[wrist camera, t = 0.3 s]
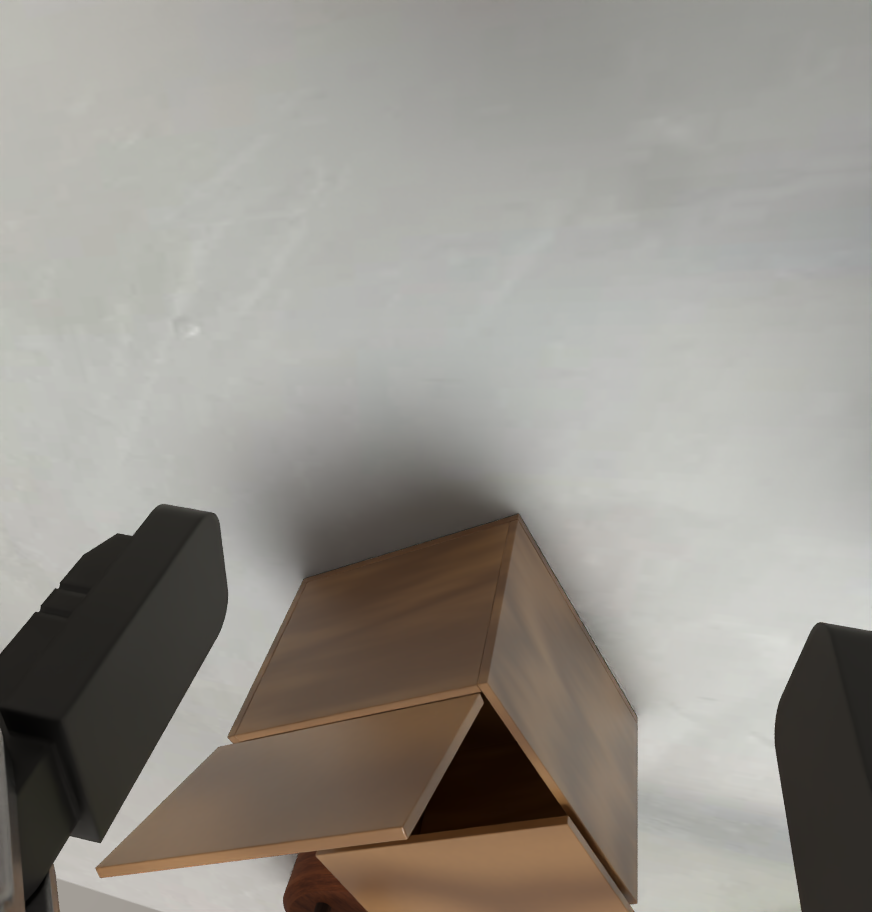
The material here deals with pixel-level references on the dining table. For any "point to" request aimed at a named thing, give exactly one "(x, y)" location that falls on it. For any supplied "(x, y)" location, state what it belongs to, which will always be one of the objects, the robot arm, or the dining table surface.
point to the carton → (491, 734)
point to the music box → (317, 889)
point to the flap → (302, 791)
